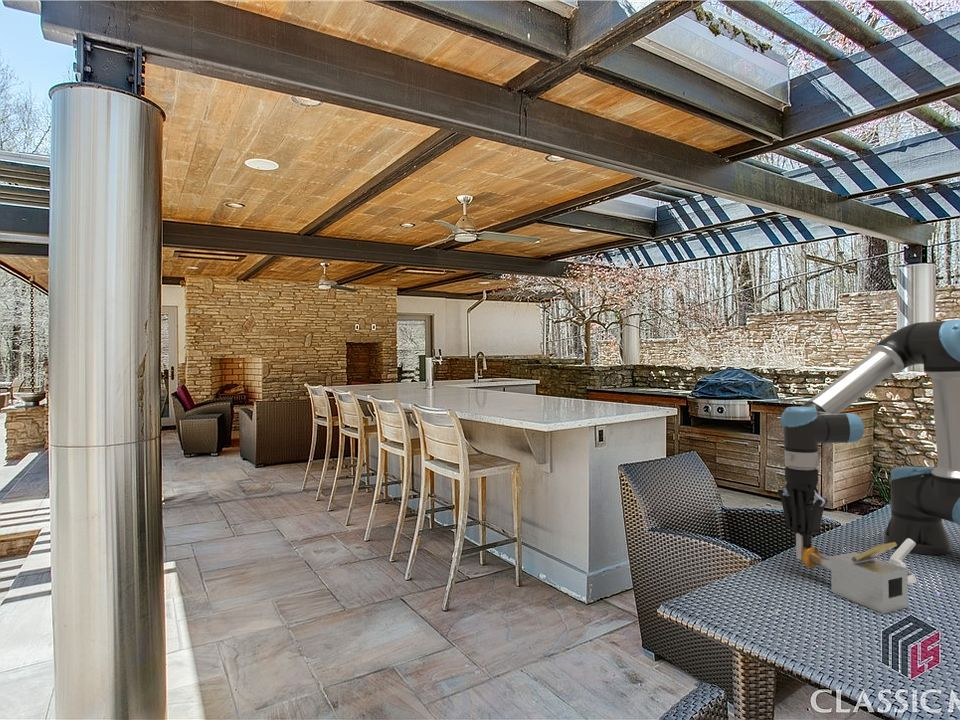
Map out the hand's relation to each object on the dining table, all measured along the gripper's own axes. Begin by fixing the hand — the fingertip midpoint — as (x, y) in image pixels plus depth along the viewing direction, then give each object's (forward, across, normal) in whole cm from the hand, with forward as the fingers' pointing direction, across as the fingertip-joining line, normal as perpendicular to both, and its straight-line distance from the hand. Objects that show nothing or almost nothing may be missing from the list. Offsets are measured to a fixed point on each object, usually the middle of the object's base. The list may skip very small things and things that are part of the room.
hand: (802, 558), depth 145 cm
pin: (+2, +8, 0) cm, 8 cm away
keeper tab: (-7, +19, 0) cm, 20 cm away
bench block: (+4, +17, 0) cm, 17 cm away
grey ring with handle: (+4, +11, +19) cm, 22 cm away
